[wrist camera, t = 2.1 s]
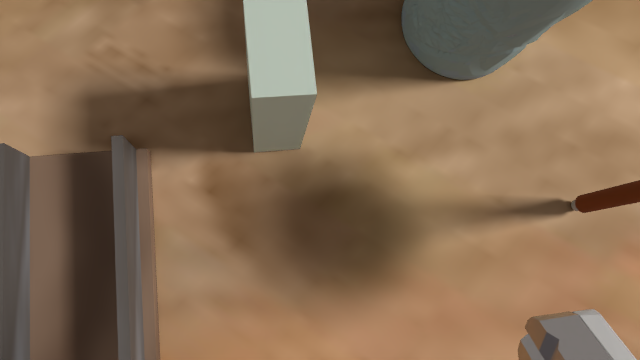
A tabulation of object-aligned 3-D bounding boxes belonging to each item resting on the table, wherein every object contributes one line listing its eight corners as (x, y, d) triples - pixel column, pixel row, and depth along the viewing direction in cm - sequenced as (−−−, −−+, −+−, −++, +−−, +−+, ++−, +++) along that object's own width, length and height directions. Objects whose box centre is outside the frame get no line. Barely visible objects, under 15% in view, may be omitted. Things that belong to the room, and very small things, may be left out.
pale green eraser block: (254, 152, 32) (251, 98, 22) (248, 80, 33) (243, -3, 23) (299, 148, 33) (316, 94, 23) (292, 77, 33) (306, -5, 24)
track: (14, 442, 27) (-27, 470, 23) (15, 162, 30) (-22, 145, 26) (163, 420, 28) (147, 443, 25) (150, 152, 31) (134, 134, 27)
